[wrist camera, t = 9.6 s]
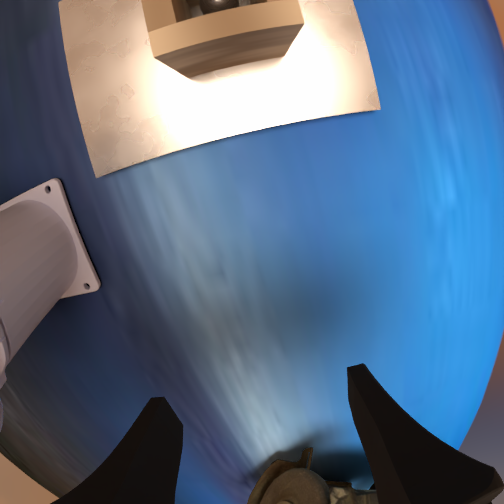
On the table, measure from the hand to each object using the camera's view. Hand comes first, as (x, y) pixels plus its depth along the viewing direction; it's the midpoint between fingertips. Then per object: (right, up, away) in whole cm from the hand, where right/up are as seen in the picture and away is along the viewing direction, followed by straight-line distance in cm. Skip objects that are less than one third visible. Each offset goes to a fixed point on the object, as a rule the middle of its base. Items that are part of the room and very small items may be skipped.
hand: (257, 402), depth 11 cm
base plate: (-3, +17, +3) cm, 18 cm away
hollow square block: (-2, +17, +2) cm, 17 cm away
